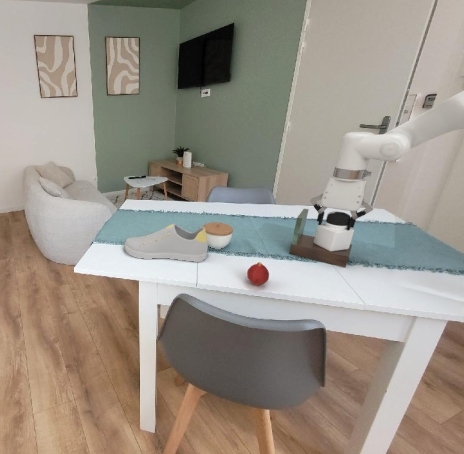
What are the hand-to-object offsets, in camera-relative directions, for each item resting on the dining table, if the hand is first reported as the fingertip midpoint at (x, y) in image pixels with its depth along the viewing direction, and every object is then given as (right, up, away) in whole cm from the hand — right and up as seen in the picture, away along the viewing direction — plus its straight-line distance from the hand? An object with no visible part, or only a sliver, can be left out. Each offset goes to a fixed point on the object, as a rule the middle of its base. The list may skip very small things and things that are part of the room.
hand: (334, 225), depth 97 cm
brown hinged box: (-1, -10, +6) cm, 12 cm away
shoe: (-55, -11, +11) cm, 57 cm away
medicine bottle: (+1, -7, +3) cm, 8 cm away
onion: (-31, -18, -9) cm, 37 cm away
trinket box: (-34, -8, +16) cm, 38 cm away
